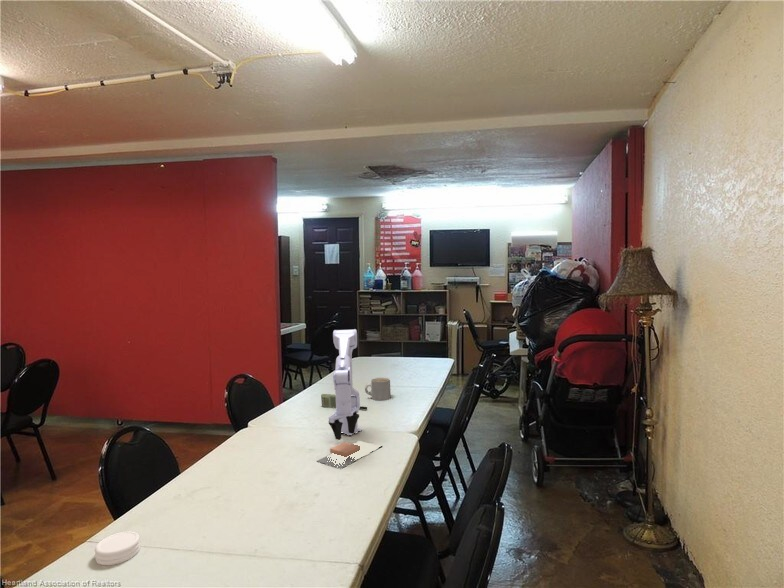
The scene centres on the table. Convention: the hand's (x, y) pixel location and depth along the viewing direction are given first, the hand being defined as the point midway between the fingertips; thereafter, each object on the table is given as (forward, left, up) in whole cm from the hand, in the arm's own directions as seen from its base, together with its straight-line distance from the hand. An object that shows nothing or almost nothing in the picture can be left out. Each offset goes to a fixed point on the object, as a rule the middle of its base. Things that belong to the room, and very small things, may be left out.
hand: (344, 436), depth 183 cm
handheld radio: (-39, +42, -7) cm, 58 cm away
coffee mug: (-35, +65, -7) cm, 74 cm away
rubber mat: (+3, 0, -6) cm, 7 cm away
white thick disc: (-6, -80, -7) cm, 81 cm away
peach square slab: (-4, 0, -5) cm, 7 cm away
